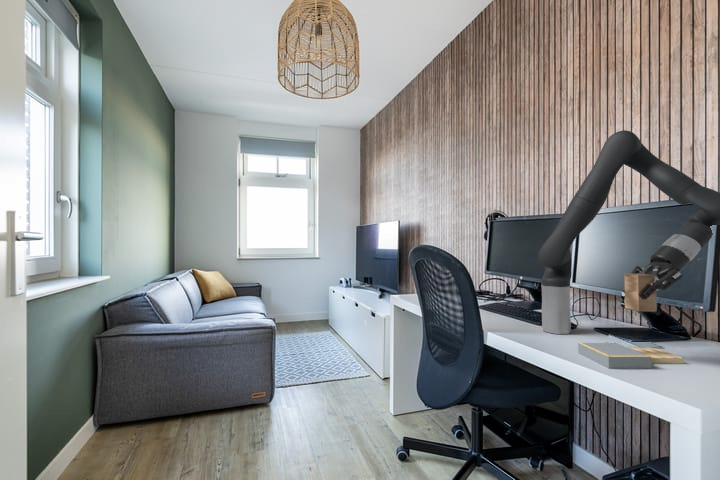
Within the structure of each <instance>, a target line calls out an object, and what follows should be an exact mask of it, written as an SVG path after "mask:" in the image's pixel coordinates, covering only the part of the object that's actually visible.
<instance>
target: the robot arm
mask: <svg viewBox="0 0 720 480" xmlns="http://www.w3.org/2000/svg"><path fill="white" fill-rule="evenodd" d="M623 166H627V167H629V168H631V169H632V170H633V171H636V173H639V174H640V175H642V177H644V178H645V179H647V180H648V181H649V182H650V183H651V184H652V185H654V186H655V188H657V189H658V190H660V191H661V192H662V193H664V194H665V195H666V196H667V197H669V198H670V199H671V200H673V201H675V202H676V203H677V204H679V205H681V206H686V205H689V204H691V205H693V206H695V207H697V208H698V209H696V211H695V212H694V213H693V214H692V215H691V216H690V218H689V219H688V220H687V221H686V222H685V223H684V224H683V225H681V227H680V228H679V229H678V230H677V231H676V232H675V233H674V234H673V235H671V236H670V237H669V238H668V239H666V240H665V241H664V242H663V243H662V245H661V244H660V247H659V248H657V249H656V250H655V251H654V252H653V253H652V254H651V255H650V258H649V259H650V262H649V263H648V264H646V265H645V266H644V267H640V266H639V265H637V266H635V267H634V269H633V270H632V271H631V272H630V274H649V275H654V276H653V277H652V280H651V281H650V282H649V285H646V286H645V287H644V288H643V289H642V290H641V291H640V292H639V294H638V295H639V296H640V297H641V298H642V299H647V298H648V297H649V296H650V295H651V294H652V293H653V292H654V291H656V292H657V291H659V290H662V291H665V290H667V289H668V288H669V287H671V286H673V284H675V283H676V282H677V281H679V280H680V279H682V278H683V275H682V273H681V272H682V271H683V269H685V267H686V266H688V264H689V263H690V262H691V261H692V260H694V259H695V258H696V256H697V255H698V254H699V252H700V251H701V250H702V249H703V247H705V246H706V244H707V243H709V242H710V241H711V239H712V236H713V235H714V234H713V233H712V230H711V228H710V226H712V225H720V192H719V191H717V190H714V189H712V188H709V187H706V186H703V185H701V184H700V183H699V182H697V181H696V180H694V179H693V178H691V177H690V176H689V175H687V174H685V173H684V172H682V170H679V169H677V168H676V167H673V166H672V165H670V164H668V163H666V162H664V161H663V160H662V159H660V158H659V157H657V156H655V154H653V153H652V152H651V151H650V150H649V149H648V148H647V147H646V146H645V145H644V144H643V143H642V140H641V139H640V138H639V136H637V134H635V133H634V132H632V131H630V130H626V129H625V130H619V131H616V132H613V134H611V135H610V136H609V137H608V138H607V139H606V140H605V142H604V144H603V145H602V148H601V150H600V152H599V155H598V157H597V158H596V161H595V163H594V165H593V167H592V168H591V170H590V171H589V173H588V175H587V176H586V177H585V178H584V180H583V181H582V183H581V185H580V186H579V188H578V190H577V191H576V192H575V194H574V196H573V197H572V199H571V200H570V202H569V203H568V206H567V208H566V209H565V211H564V213H563V214H562V216H561V217H560V220H559V222H558V223H557V225H556V226H555V228H554V230H553V232H552V233H551V234H550V235H549V237H548V238H547V240H546V241H545V242H544V243H543V244H542V246H541V247H540V249H539V251H538V254H537V255H538V256H537V257H538V262H540V264H541V265H542V266H543V267H544V273H543V276H542V277H541V328H542V331H543V332H545V333H549V334H553V335H554V334H555V335H568V334H571V332H572V331H571V330H572V328H571V327H572V322H571V321H572V320H571V314H572V313H571V280H572V266H573V265H572V264H573V263H572V252H571V250H570V249H571V246H572V244H573V243H574V241H575V240H576V239H577V237H578V236H579V235H580V234H581V233H582V231H584V230H585V229H586V228H587V227H588V226H590V224H591V223H592V222H593V220H594V219H595V218H596V217H597V215H598V213H599V212H600V211H601V209H603V206H604V205H605V202H606V201H607V198H608V196H609V194H610V190H611V187H612V186H613V182H614V180H615V178H616V176H617V174H618V173H619V171H620V170H621V168H622V167H623ZM655 282H656V283H655ZM665 282H666V283H665ZM622 292H623V293H624V294H625V288H624V289H623V291H622Z"/></svg>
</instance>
